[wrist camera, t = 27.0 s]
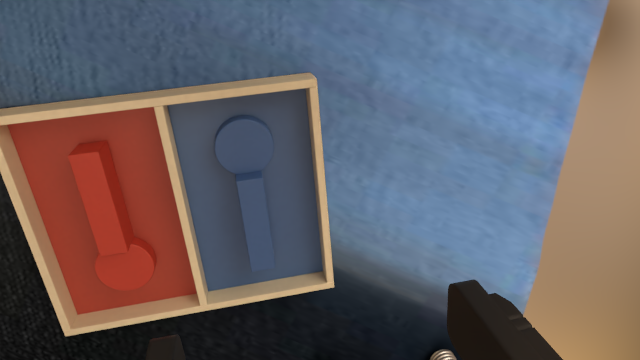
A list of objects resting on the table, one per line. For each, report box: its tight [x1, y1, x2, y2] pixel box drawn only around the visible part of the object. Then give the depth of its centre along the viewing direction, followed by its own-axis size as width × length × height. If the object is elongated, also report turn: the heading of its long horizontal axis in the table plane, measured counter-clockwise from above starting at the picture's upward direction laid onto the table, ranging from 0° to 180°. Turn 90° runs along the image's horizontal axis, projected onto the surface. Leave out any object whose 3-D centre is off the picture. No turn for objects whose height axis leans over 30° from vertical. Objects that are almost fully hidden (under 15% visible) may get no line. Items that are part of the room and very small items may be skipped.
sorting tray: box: [0, 73, 334, 336], centre depth 36 cm, size 18×22×3 cm
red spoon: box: [68, 141, 156, 291], centre depth 34 cm, size 12×4×2 cm, turn 5°
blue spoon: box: [214, 115, 276, 272], centre depth 35 cm, size 12×4×2 cm, turn 5°
